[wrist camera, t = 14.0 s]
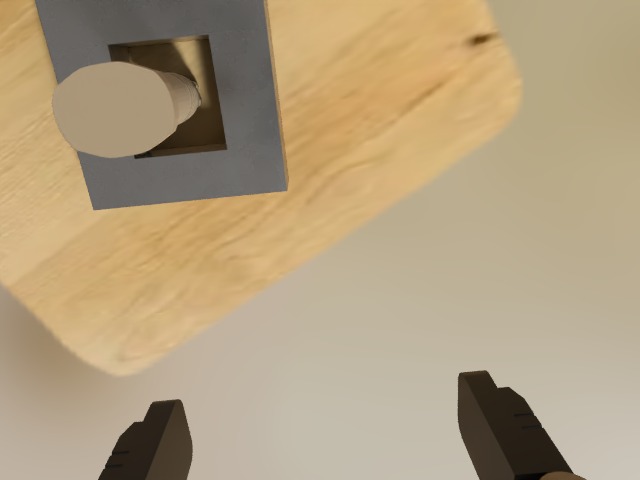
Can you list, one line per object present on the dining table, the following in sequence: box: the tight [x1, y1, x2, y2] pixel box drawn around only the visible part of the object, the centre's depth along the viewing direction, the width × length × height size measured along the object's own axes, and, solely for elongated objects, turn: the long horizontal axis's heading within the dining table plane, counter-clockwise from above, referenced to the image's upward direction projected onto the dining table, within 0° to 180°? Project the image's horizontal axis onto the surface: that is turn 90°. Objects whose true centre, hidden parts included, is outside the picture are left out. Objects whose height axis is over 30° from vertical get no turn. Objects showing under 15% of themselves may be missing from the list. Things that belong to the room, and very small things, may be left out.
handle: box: [52, 61, 202, 158], centre depth 32 cm, size 5×6×15 cm
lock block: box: [35, 0, 289, 210], centre depth 37 cm, size 16×16×4 cm
